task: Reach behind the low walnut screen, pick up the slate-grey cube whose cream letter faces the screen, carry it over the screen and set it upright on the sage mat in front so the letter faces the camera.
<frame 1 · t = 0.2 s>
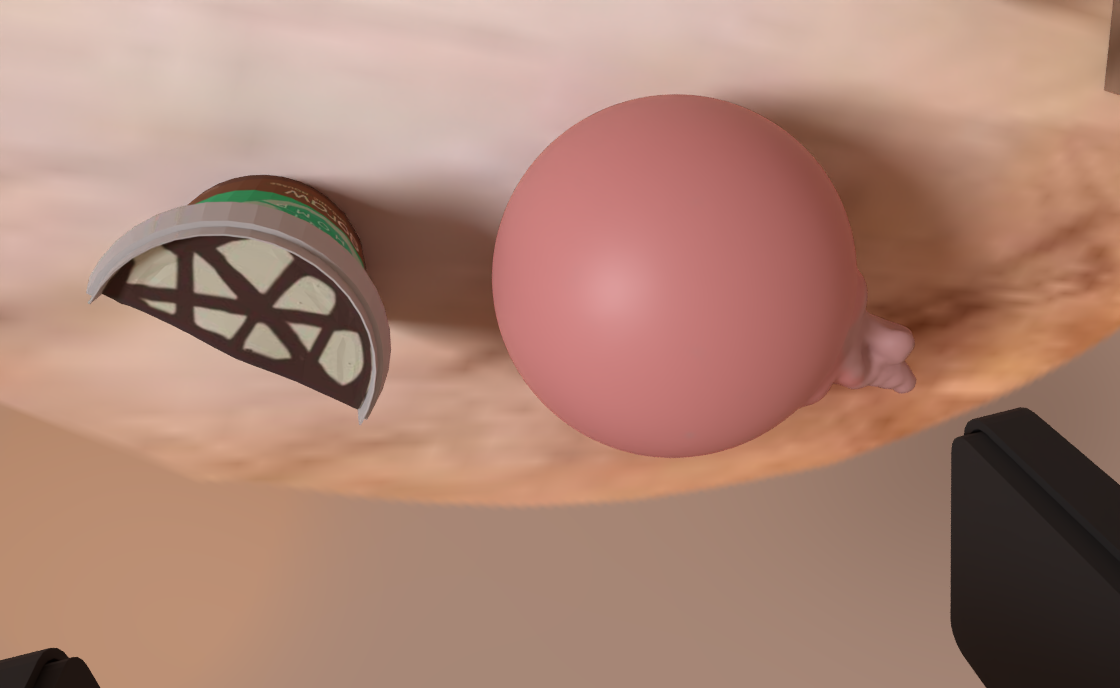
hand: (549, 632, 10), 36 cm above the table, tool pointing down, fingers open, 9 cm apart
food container: (295, 219, 45), on the table
balloon: (669, 237, 48), on the table
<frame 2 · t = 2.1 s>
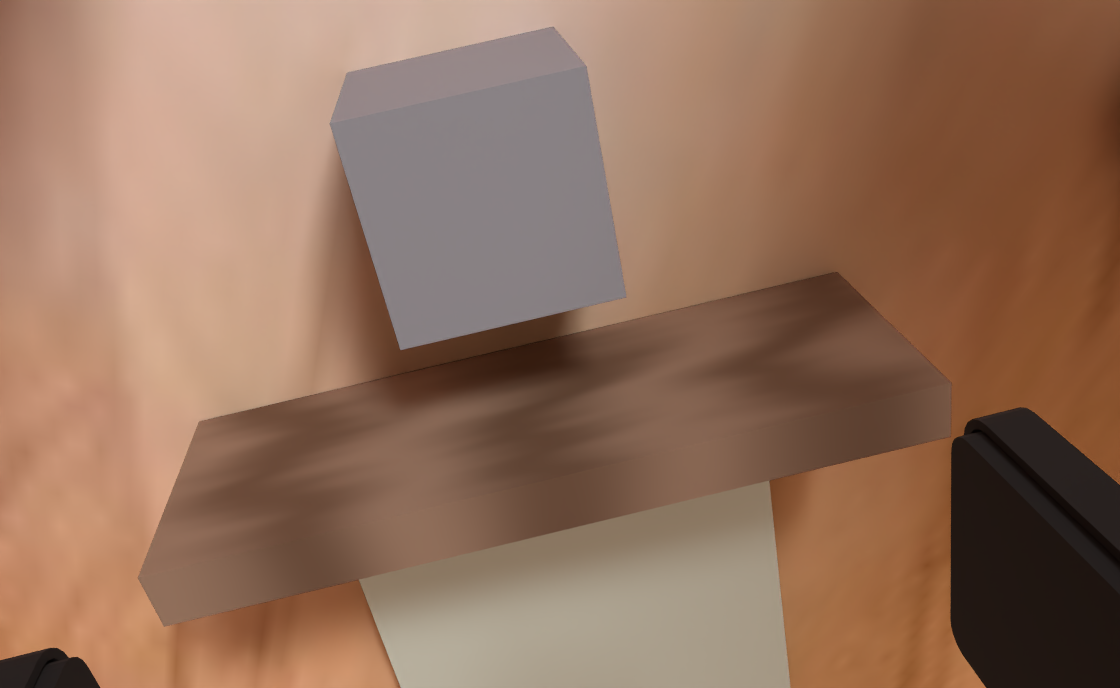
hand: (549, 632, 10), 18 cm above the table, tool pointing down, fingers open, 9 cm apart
walnut screen: (526, 368, 29), on the table
display mat: (583, 604, 34), on the table
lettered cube: (474, 150, 26), on the table
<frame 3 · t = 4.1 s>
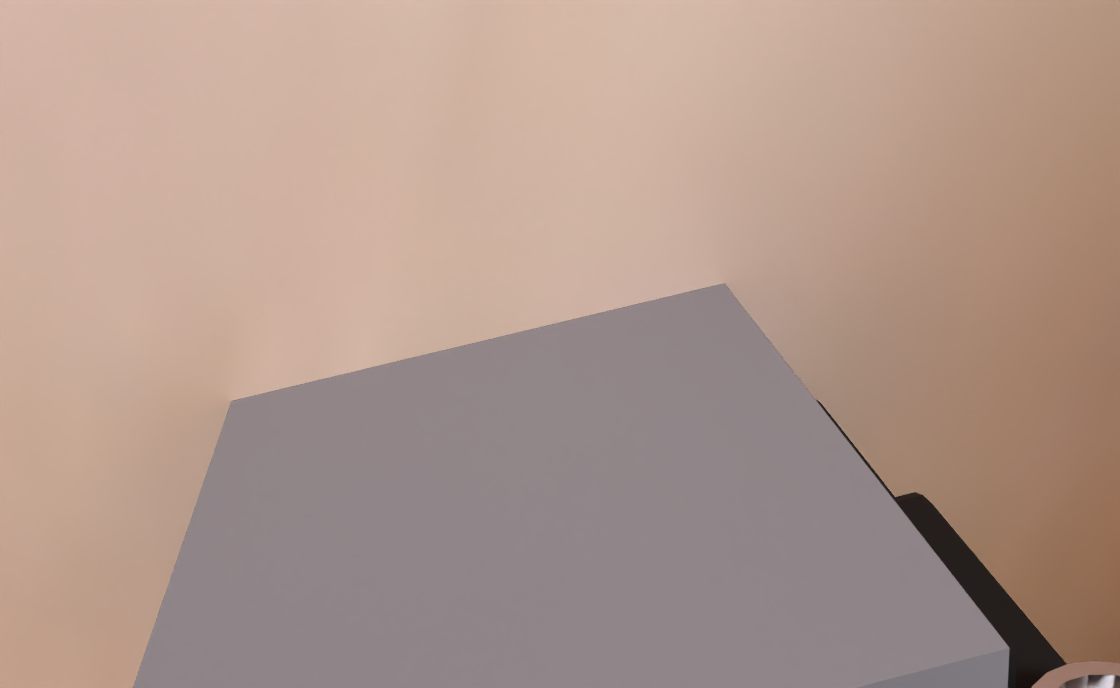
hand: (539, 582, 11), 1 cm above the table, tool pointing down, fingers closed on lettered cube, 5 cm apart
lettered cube: (531, 536, 11), on the table, touching gripper
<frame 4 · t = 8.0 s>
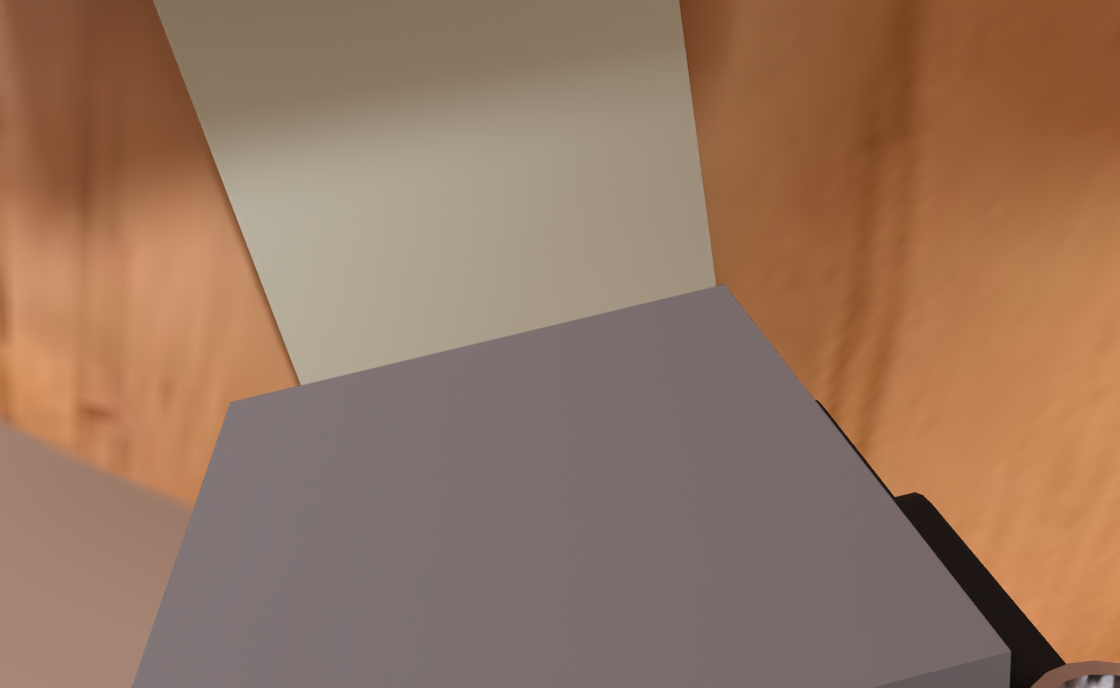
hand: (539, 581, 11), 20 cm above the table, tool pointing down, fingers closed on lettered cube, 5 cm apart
display mat: (468, 169, 29), on the table
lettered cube: (531, 537, 11), point 19 cm above the table, touching gripper
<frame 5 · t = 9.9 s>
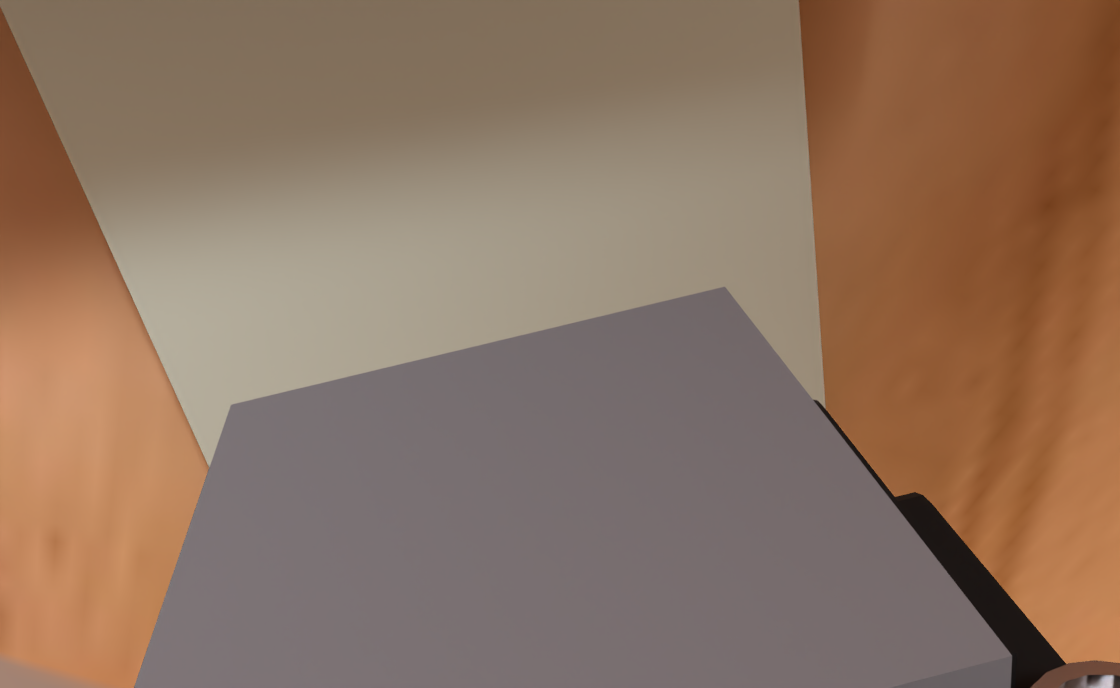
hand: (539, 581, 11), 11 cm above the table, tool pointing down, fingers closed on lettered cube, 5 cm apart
display mat: (482, 244, 20), on the table
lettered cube: (532, 539, 11), point 10 cm above the table, touching gripper
when the fingers open (3 cm above the table, at t = 11.8 s): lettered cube drops 1 cm, resting on display mat.
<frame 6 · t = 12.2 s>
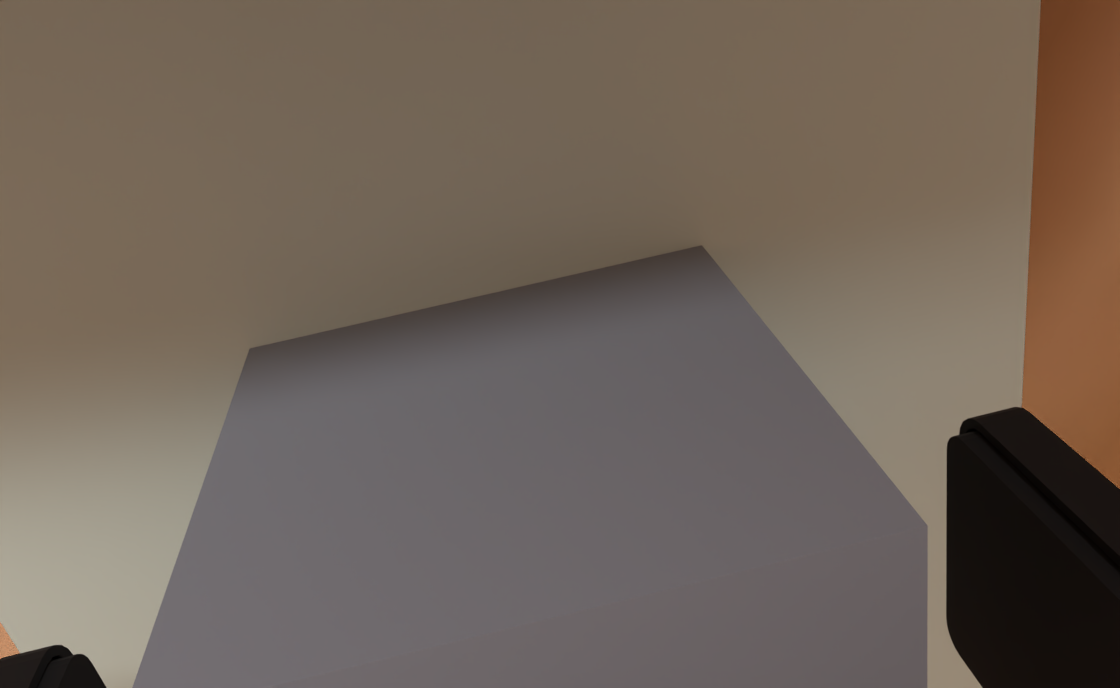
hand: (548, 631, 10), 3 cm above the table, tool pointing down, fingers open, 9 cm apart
display mat: (516, 454, 13), on the table
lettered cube: (524, 481, 12), point 1 cm above the table, touching display mat
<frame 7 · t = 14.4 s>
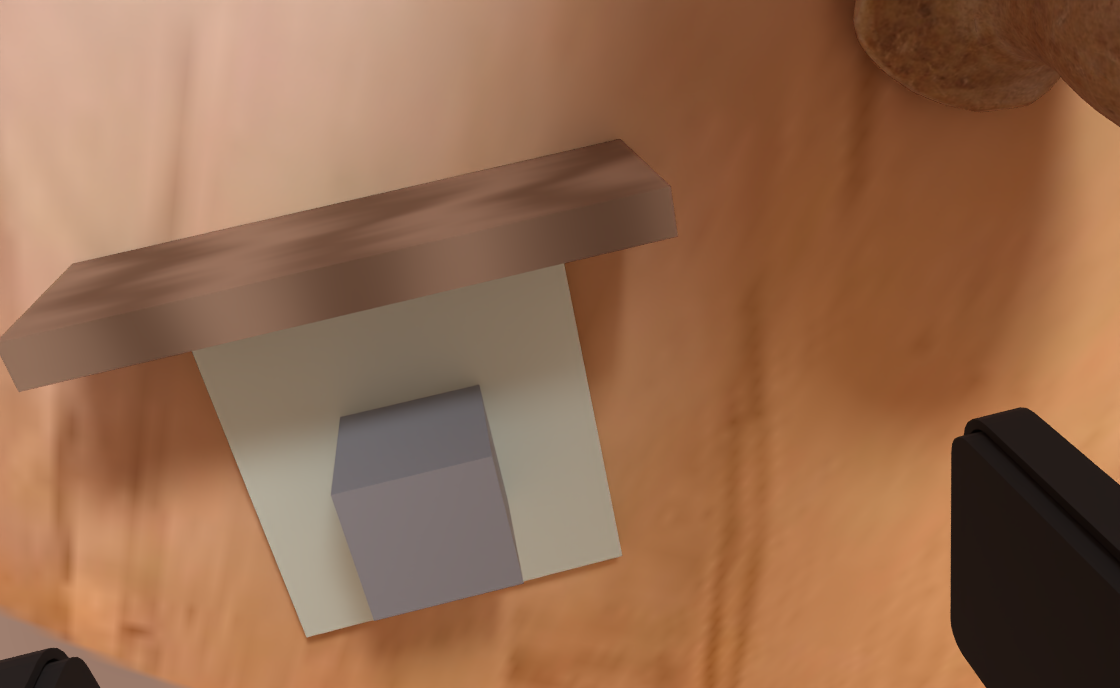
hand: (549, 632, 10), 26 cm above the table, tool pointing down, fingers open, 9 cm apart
walnut screen: (357, 221, 34), on the table
display mat: (425, 451, 38), on the table
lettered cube: (426, 459, 37), point 1 cm above the table, touching display mat
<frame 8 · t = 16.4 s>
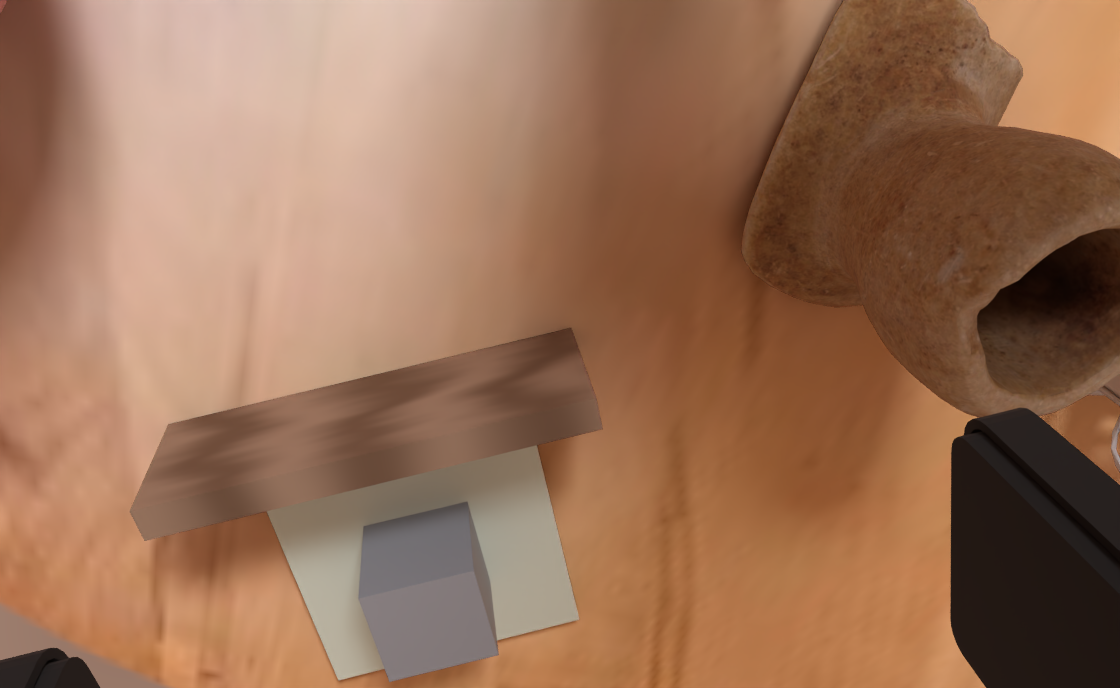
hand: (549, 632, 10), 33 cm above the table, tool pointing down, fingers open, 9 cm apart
walnut screen: (376, 389, 46), on the table
display mat: (427, 546, 50), on the table
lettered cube: (428, 554, 50), point 1 cm above the table, touching display mat
stone cup: (877, 151, 44), on the table
french press: (1114, 327, 51), on the table
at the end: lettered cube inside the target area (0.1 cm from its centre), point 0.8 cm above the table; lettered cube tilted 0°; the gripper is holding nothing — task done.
